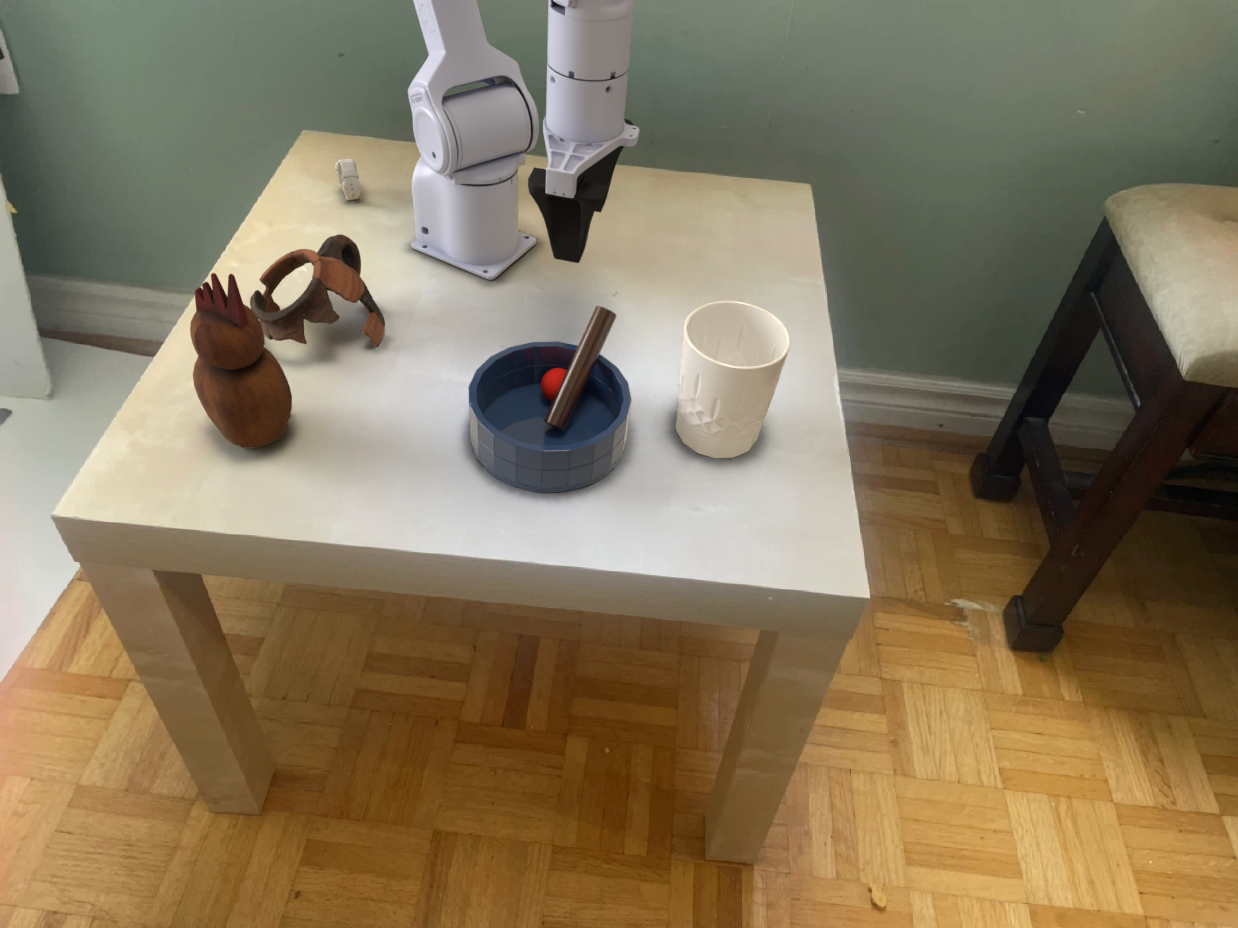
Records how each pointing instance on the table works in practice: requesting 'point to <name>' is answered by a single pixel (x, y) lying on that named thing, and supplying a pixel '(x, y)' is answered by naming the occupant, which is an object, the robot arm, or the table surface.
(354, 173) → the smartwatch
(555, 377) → the red ball
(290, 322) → the brown curved pieces
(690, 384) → the white cup
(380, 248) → the table surface
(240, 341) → the wooden figurine
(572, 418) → the bowl
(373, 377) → the table surface
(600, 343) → the stick
